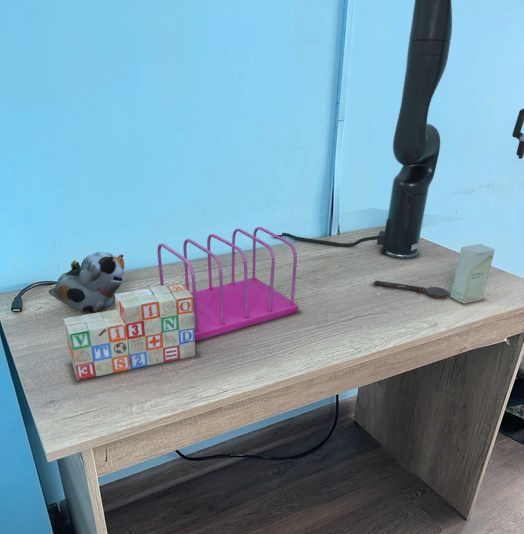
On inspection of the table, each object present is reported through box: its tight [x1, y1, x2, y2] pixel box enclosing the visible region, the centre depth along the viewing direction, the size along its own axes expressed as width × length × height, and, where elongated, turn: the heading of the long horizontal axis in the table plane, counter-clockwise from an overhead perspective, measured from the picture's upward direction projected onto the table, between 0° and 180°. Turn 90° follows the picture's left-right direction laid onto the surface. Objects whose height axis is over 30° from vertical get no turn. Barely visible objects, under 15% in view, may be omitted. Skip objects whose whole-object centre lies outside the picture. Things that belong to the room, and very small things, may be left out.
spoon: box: [373, 280, 449, 300], centre depth 125 cm, size 17×5×1 cm, turn 72°
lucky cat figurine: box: [48, 251, 125, 314], centre depth 113 cm, size 15×12×14 cm
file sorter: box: [156, 226, 299, 342], centre depth 110 cm, size 17×25×16 cm
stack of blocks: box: [63, 283, 197, 381], centre depth 93 cm, size 21×6×12 cm, turn 116°
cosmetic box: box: [450, 243, 496, 305], centre depth 119 cm, size 6×4×12 cm
